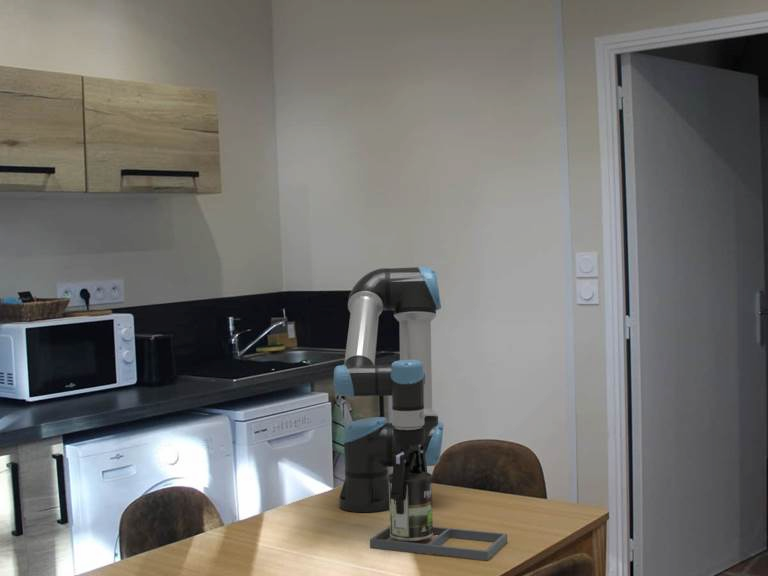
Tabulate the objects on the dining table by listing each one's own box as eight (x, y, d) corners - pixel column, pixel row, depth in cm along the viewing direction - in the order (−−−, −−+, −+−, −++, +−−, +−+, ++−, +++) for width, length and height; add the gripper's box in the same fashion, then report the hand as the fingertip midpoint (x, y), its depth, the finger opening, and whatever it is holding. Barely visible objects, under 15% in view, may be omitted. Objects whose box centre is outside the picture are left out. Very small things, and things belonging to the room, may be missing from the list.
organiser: (395, 530, 240) (395, 522, 240) (507, 542, 228) (507, 533, 228) (370, 547, 226) (369, 539, 226) (487, 560, 215) (487, 551, 215)
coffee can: (436, 529, 234) (434, 470, 234) (429, 542, 224) (428, 480, 224) (394, 528, 236) (392, 469, 236) (385, 540, 226) (383, 479, 226)
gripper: (404, 436, 217) (407, 535, 218) (440, 419, 238) (443, 510, 239) (373, 434, 220) (376, 532, 221) (412, 418, 241) (414, 507, 242)
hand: (411, 521), depth 230 cm, fingers closed on coffee can, 10 cm apart
